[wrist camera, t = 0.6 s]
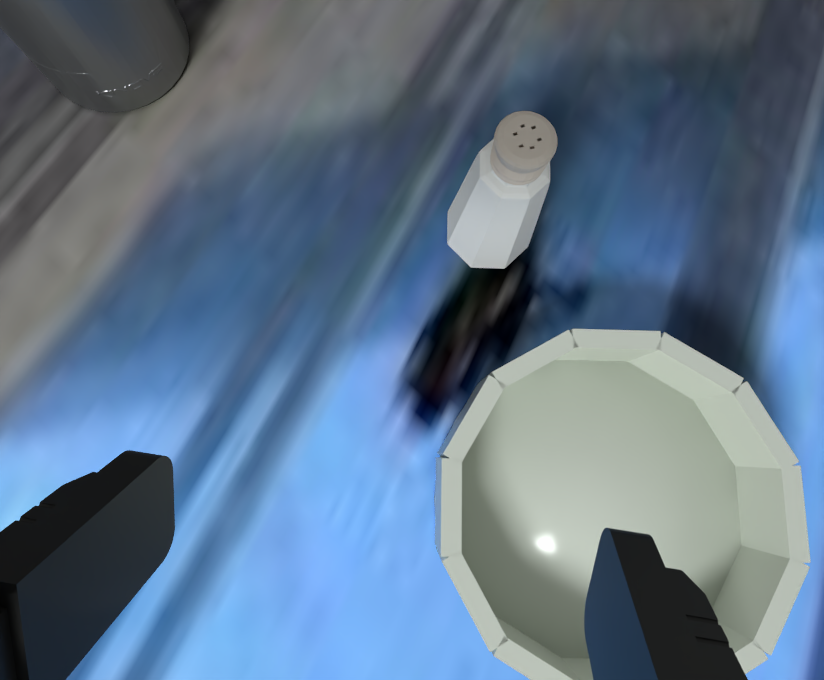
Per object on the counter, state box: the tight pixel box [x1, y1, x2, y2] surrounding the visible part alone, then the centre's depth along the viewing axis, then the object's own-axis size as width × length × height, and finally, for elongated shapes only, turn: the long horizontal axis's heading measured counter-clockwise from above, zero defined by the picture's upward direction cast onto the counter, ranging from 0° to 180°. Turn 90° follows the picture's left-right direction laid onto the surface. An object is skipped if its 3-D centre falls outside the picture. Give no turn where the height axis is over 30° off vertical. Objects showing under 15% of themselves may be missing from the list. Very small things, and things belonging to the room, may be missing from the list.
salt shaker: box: [447, 111, 558, 269], centre depth 31 cm, size 5×5×11 cm
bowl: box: [434, 329, 810, 680], centre depth 31 cm, size 18×18×5 cm
